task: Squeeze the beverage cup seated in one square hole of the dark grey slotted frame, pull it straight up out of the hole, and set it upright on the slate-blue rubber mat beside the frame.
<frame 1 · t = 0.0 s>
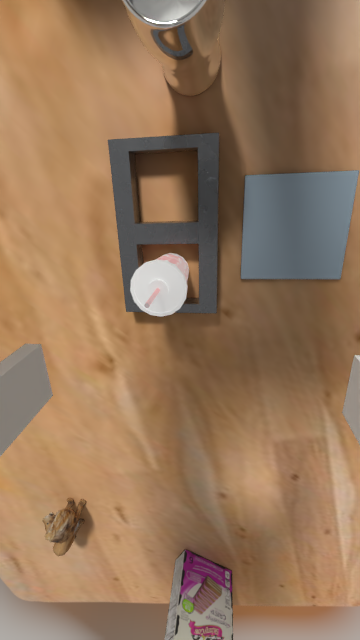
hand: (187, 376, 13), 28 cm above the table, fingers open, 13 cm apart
candy bar box: (203, 563, 63), on the table
beverage cup: (172, 270, 40), resting in dark grey slotted frame
dark grey slotted frame: (170, 231, 38), on the table
slate mat: (293, 228, 36), on the table
silver metal tumbler: (191, 61, 31), on the table
lion figurine: (74, 507, 62), on the table
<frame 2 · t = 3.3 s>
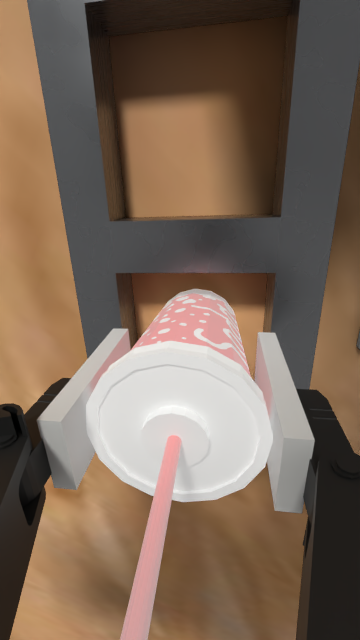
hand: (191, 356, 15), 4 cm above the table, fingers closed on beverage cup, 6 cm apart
beverage cup: (198, 324, 18), resting in dark grey slotted frame, touching gripper
dark grey slotted frame: (196, 239, 16), on the table
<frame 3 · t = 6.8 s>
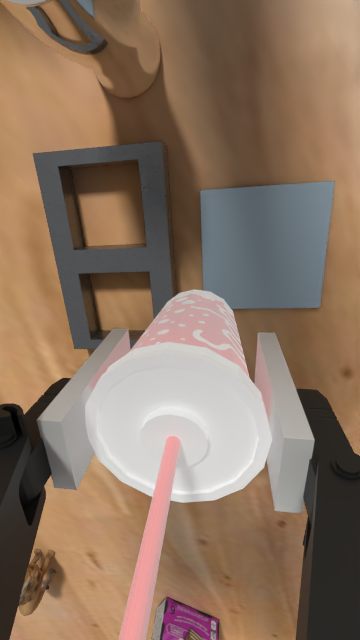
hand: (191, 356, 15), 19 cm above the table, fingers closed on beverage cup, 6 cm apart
candy bar box: (187, 610, 57), on the table
beverage cup: (197, 325, 18), point 15 cm above the table, touching gripper
dark grey slotted frame: (119, 256, 33), on the table
slate mat: (262, 250, 30), on the table
silver metal tumbler: (126, 56, 26), on the table
lion figurine: (43, 558, 57), on the table
when the fingers open (6 cm above the table, at t = 10.4 s): beverage cup drops 1 cm, resting on slate mat.
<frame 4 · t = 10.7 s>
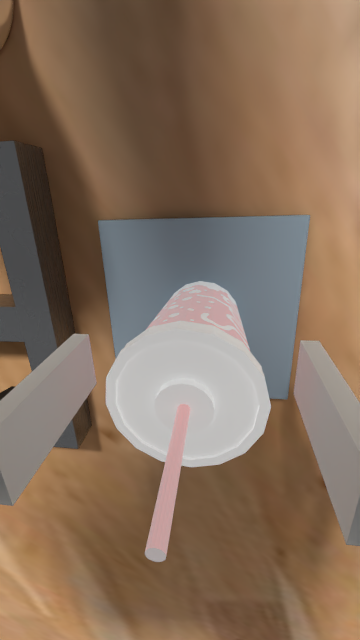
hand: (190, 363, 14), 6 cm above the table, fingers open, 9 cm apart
beverage cup: (202, 314, 19), resting on slate mat
slate mat: (200, 313, 20), on the table
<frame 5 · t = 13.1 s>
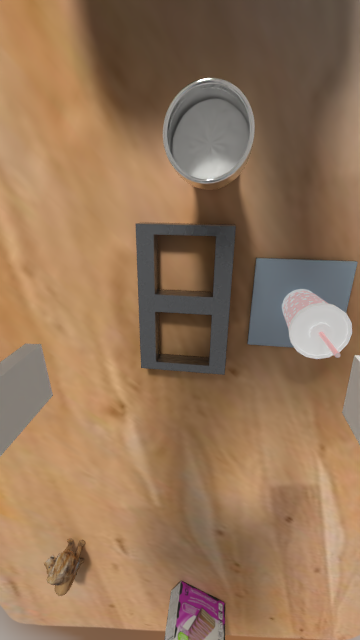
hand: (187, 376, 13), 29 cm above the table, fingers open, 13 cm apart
candy bar box: (197, 594, 66), on the table
beverage cup: (299, 305, 40), resting on slate mat
dark grey slotted frame: (185, 299, 42), on the table
slate mat: (297, 304, 40), on the table
silver metal tumbler: (213, 161, 35), on the table
lion figurine: (74, 547, 66), on the table
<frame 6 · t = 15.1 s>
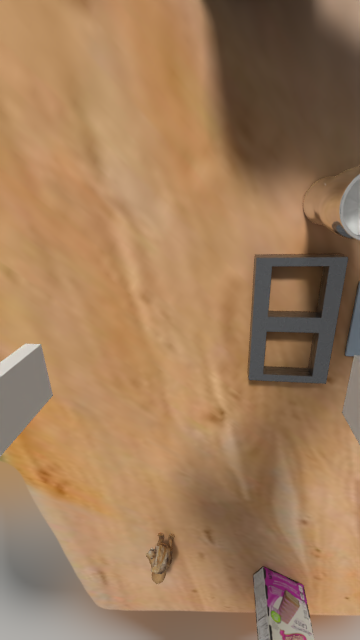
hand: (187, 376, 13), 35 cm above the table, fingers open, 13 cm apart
candy bar box: (277, 578, 72), on the table
dark grey slotted frame: (290, 318, 47), on the table
silver metal tumbler: (326, 201, 41), on the table
lion figurine: (163, 540, 73), on the table
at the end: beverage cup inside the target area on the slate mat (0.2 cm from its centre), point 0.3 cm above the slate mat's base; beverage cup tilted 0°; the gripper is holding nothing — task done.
